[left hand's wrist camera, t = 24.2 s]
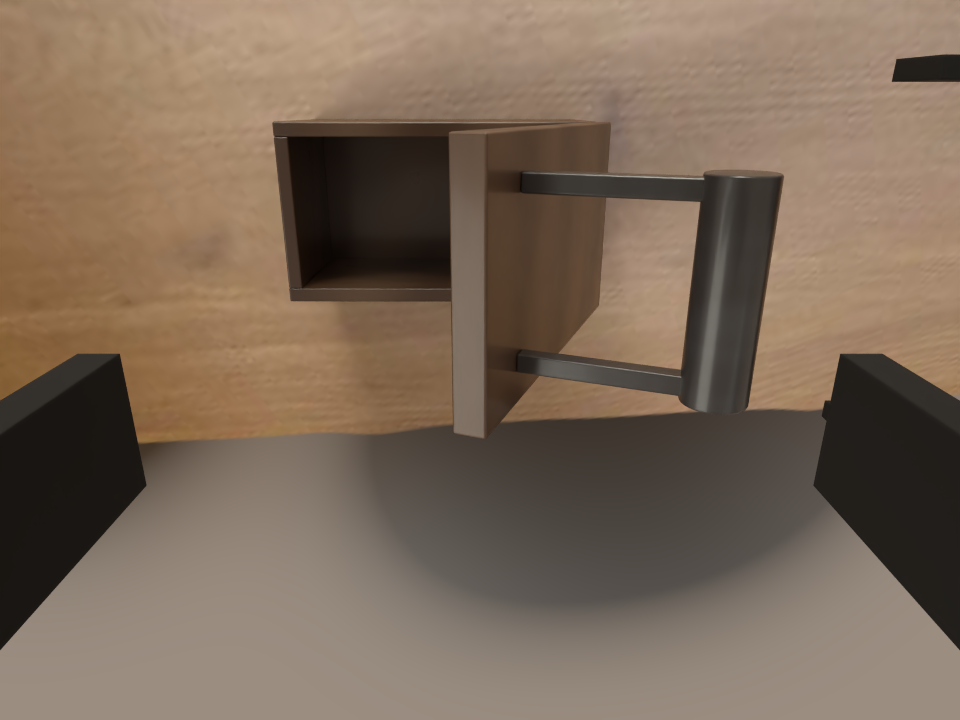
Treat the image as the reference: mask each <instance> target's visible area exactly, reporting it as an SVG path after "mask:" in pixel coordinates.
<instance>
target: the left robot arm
mask: <svg viewBox="0 0 960 720" xmlns="http://www.w3.org/2000/svg"><path fill="white" fill-rule="evenodd" d="M145 487H146V481H145V476H144V471H143V466H142V461H141V456H140V451H139V446H138V441H137V436H136V432H135V427H134V422H133V417H132V412H131V407H130V402H129V397H128V392H127V387H126V382H125V378H124V373H123V368H122V363H121V358H120V354H77V355H75V356H73V357H72V358H70V359H68V360H67V361H65V362H63V363H62V364H60V365H58V366H57V367H55V368H53V369H52V370H50V371H49V372H47V373H45V374H44V375H42V376H40V377H39V378H37V379H35V380H34V381H32V382H30V383H29V384H27V385H25V386H24V387H22V388H20V389H19V390H17V391H16V392H14V393H12V394H11V395H9V396H7V397H6V398H4V399H2V400H1V401H0V650H1V649H2V648H3V646H4V645H5V644H6V643H7V642H8V641H9V640H10V639H11V637H12V636H13V635H14V634H15V633H16V632H17V631H18V630H19V628H20V627H21V626H22V625H23V624H24V623H25V622H26V620H27V619H28V618H29V617H30V616H31V615H32V614H33V613H34V611H35V610H36V609H37V608H38V607H39V606H40V605H41V604H42V602H43V601H44V600H45V599H46V598H47V597H48V596H49V595H50V593H51V592H52V591H53V590H54V589H55V588H56V587H57V586H58V584H59V583H60V582H61V581H62V580H63V579H64V578H65V576H66V575H67V574H68V573H69V572H70V571H71V570H72V569H73V568H74V566H75V565H76V564H77V563H78V562H79V561H80V560H81V559H82V557H83V556H84V555H85V554H86V553H87V552H88V551H89V550H90V548H91V547H92V546H93V545H94V544H95V543H96V542H97V541H98V539H99V538H100V537H101V536H102V535H103V534H104V533H105V532H106V530H107V529H108V528H109V527H110V526H111V525H112V524H113V523H114V521H115V520H116V519H117V518H118V517H119V516H120V515H121V514H122V512H123V511H124V510H125V509H126V508H127V507H128V506H129V505H130V503H131V502H132V501H133V500H134V499H135V498H136V497H137V496H138V494H139V493H140V492H141V491H142V490H143V489H144V488H145ZM814 487H815V488H816V489H817V490H818V491H819V492H820V493H821V494H822V496H823V497H824V498H825V499H826V500H827V501H828V502H829V503H830V505H831V506H832V507H833V508H834V509H835V510H836V511H837V512H838V514H839V515H840V516H841V517H842V518H843V519H844V520H845V521H846V523H847V524H848V525H849V526H850V527H851V528H852V529H853V530H854V532H855V533H856V534H857V535H858V536H859V537H860V538H861V539H862V541H863V542H864V543H865V544H866V545H867V546H868V547H869V548H870V550H871V551H872V552H873V553H874V554H875V555H876V556H877V557H878V559H879V560H880V561H881V562H882V563H883V564H884V565H885V566H886V568H887V569H888V570H889V571H890V572H891V573H892V574H893V575H894V577H895V578H896V579H897V580H898V581H899V582H900V583H901V584H902V586H903V587H904V588H905V589H906V590H907V591H908V592H909V593H910V595H911V596H912V597H913V598H914V599H915V600H916V601H917V602H918V604H919V605H920V606H921V607H922V608H923V609H924V610H925V611H926V613H927V614H928V615H929V616H930V617H931V618H932V619H933V621H934V622H935V623H936V624H937V625H938V626H939V627H940V628H941V629H942V631H943V632H944V633H945V634H946V635H947V636H948V637H949V639H950V640H951V641H952V642H953V643H954V644H955V645H956V646H957V648H958V649H959V650H960V401H959V400H958V399H956V398H954V397H953V396H951V395H949V394H948V393H946V392H944V391H943V390H941V389H940V388H938V387H936V386H935V385H933V384H931V383H930V382H928V381H926V380H925V379H923V378H921V377H920V376H918V375H916V374H915V373H913V372H911V371H910V370H908V369H907V368H905V367H903V366H902V365H900V364H898V363H897V362H895V361H893V360H892V359H890V358H888V357H887V356H885V355H883V354H840V358H839V363H838V368H837V373H836V378H835V382H834V387H833V392H832V397H831V402H830V407H829V412H828V417H827V422H826V427H825V432H824V437H823V441H822V446H821V451H820V456H819V461H818V466H817V471H816V476H815V481H814Z"/></svg>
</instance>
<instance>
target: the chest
mask: <svg viewBox="0 0 960 720" xmlns="http://www.w3.org/2000/svg"><path fill="white" fill-rule="evenodd" d="M583 122H591V121H582V120H325V119H313V120H296V121H278V122H273V123H272V124H273V134H274V136H275V137H274V143H275V153H276V163H277V172H278V182H279V192H280V201H281V211H282V221H283V230H284V240H285V250H286V259H287V269H288V279H289V287H290V289H289V290H290V300H291V301H451V256H450V190H449V132H451V131H466V130H481V129H495V128H510V127H525V126H539V125H554V124H569V123H583Z"/></svg>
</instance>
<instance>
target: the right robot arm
mask: <svg viewBox="0 0 960 720" xmlns="http://www.w3.org/2000/svg"><path fill="white" fill-rule="evenodd" d="M892 82H960V55H935V56H925V57H914V58H904V59H896V64H895V69H894V74H893V79H892ZM830 402H831V401H825V403H824V408H823V413H822V417H823V418H824V419H825V420H826V421H827V417H828V412H829V407H830Z"/></svg>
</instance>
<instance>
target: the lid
mask: <svg viewBox="0 0 960 720" xmlns="http://www.w3.org/2000/svg"><path fill="white" fill-rule="evenodd" d="M610 129H611V123H610V122H583V123H569V124H554V125H539V126H525V127H510V128H495V129H481V130H466V131H451V132H449V190H450V256H451V321H452V386H453V433H455V434H459V435H465V436H470V437H475V438H481V439H486V438H487V437H488V436H489V435H490V433H491V432H492V431H493V430H494V429H495V428H496V426H497V425H498V424H499V423H500V422H501V420H502V419H503V418H504V417H505V416H506V415H507V413H508V412H509V411H510V410H511V409H512V407H513V406H514V405H515V404H516V403H517V402H518V400H519V399H520V398H521V397H522V396H523V394H524V393H525V392H526V391H527V390H528V389H529V387H530V386H531V385H532V384H533V383H534V381H535V380H536V379H537V378H538V377H539V376H546V377H553V378H560V379H567V380H573V381H580V382H587V383H594V384H601V385H608V386H615V387H622V388H628V389H635V390H642V391H649V392H656V393H663V394H670V395H676V396H678V398H679V400H680V402H681V403H682V404H684V405H685V406H687V407H689V408H691V409H693V410H696V411H699V412H703V413H708V414H715V415H731V414H737V413H740V412H743V411H744V410H746V408H747V407H748V403H749V397H750V391H751V384H752V378H753V371H754V365H755V359H756V352H757V346H758V339H759V333H760V327H761V320H762V314H763V308H764V301H765V295H766V288H767V282H768V276H769V269H770V263H771V257H772V250H773V244H774V237H775V231H776V225H777V218H778V212H779V206H780V199H781V193H782V186H783V180H784V175H783V174H781V173H776V172H768V171H754V170H712V171H707V172H705V173H704V176H687V175H657V174H628V173H608V160H609V145H610ZM606 197H607V198H629V199H650V200H672V201H693V202H700V210H699V219H698V228H697V236H696V245H695V254H694V262H693V271H692V280H691V288H690V297H689V306H688V314H687V323H686V332H685V340H684V349H683V358H682V367H681V370H678V369H670V368H663V367H655V366H648V365H640V364H632V363H625V362H617V361H610V360H602V359H595V358H587V357H579V356H572V355H564V354H558V353H559V352H560V351H561V350H562V348H563V347H564V346H565V345H566V344H567V342H568V341H569V340H570V339H571V338H572V337H573V335H574V334H575V333H576V332H577V331H578V329H579V328H580V327H581V326H582V325H583V324H584V322H585V321H586V320H587V319H588V318H589V316H590V315H591V314H592V313H593V312H594V311H595V309H596V308H597V307H598V306H599V296H600V281H601V266H602V251H603V236H604V220H605V205H606Z"/></svg>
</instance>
